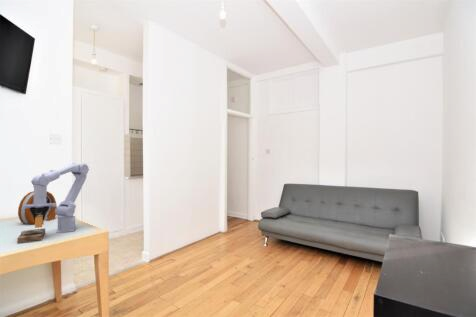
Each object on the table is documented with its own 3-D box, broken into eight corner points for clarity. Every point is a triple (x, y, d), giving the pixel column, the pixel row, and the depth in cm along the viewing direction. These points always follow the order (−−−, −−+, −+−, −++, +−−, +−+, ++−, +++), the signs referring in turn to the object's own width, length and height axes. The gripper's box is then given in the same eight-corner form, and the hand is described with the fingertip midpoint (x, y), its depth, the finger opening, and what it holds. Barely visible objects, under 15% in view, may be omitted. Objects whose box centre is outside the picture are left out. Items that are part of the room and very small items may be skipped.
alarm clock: (29, 226, 161) (30, 192, 161) (17, 225, 163) (17, 191, 163) (59, 218, 183) (59, 188, 183) (47, 217, 184) (48, 187, 184)
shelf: (45, 233, 148) (45, 225, 148) (41, 240, 135) (41, 232, 135) (23, 235, 143) (23, 227, 142) (17, 243, 130) (17, 235, 130)
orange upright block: (43, 224, 142) (43, 214, 142) (41, 227, 137) (41, 217, 137) (37, 224, 141) (37, 215, 141) (35, 228, 135) (35, 218, 135)
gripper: (21, 198, 132) (21, 223, 131) (55, 196, 139) (54, 220, 139) (24, 196, 137) (23, 220, 137) (56, 195, 145) (55, 217, 145)
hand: (39, 220), depth 139 cm, fingers closed on orange upright block, 3 cm apart
